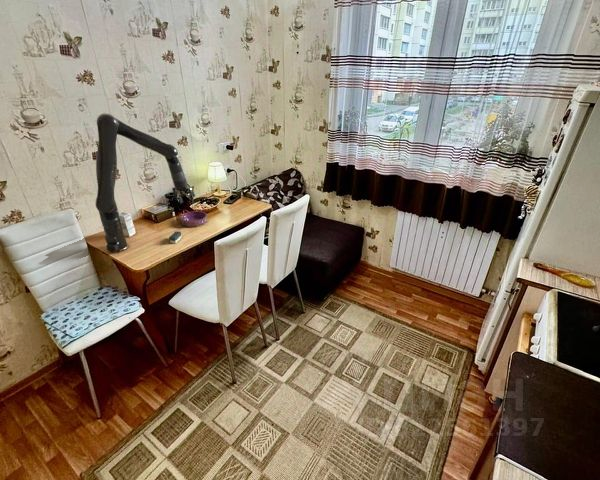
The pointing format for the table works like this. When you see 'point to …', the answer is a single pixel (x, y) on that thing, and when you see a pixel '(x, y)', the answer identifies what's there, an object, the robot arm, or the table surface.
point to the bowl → (194, 218)
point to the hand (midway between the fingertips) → (187, 203)
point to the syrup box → (127, 224)
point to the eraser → (175, 237)
